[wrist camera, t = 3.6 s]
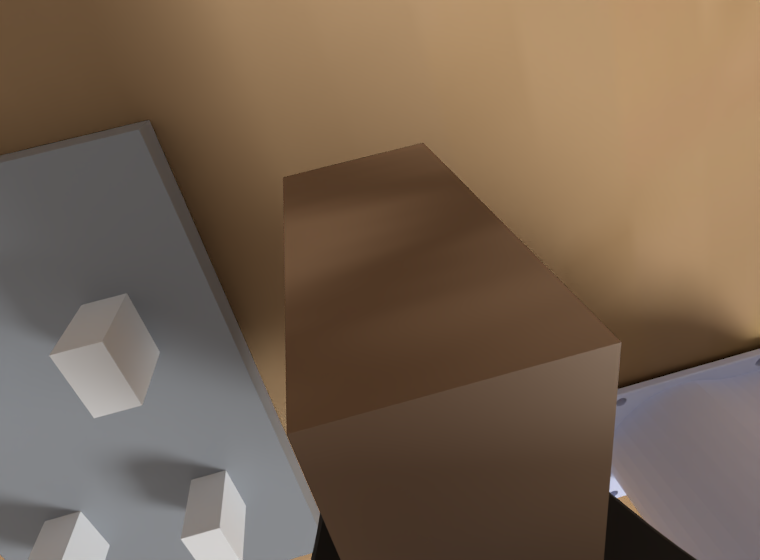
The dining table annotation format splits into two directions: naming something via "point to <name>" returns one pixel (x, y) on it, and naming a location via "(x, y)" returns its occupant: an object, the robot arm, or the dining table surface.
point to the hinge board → (129, 373)
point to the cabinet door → (439, 372)
